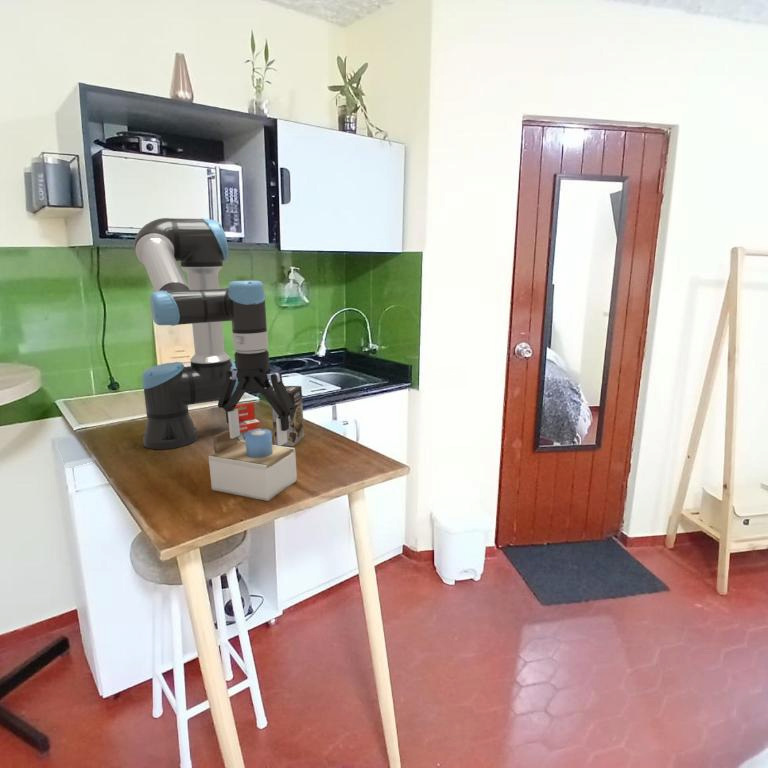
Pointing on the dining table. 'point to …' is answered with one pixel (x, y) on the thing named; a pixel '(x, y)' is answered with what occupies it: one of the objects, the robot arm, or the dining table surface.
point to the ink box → (247, 420)
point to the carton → (253, 476)
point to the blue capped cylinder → (258, 443)
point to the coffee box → (292, 418)
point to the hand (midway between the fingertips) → (258, 440)
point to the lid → (243, 450)
